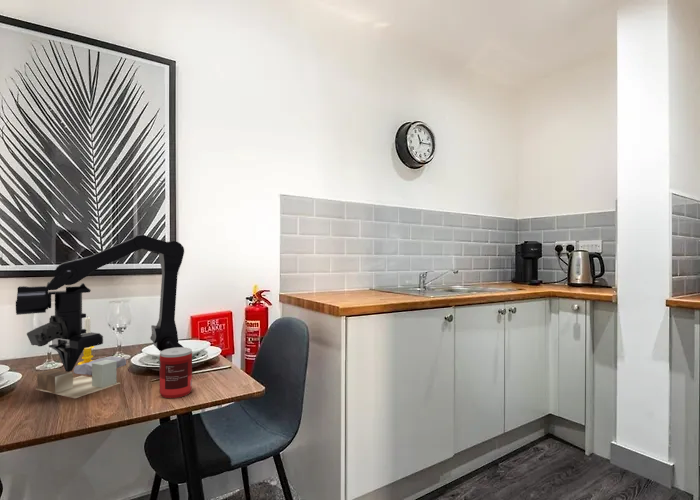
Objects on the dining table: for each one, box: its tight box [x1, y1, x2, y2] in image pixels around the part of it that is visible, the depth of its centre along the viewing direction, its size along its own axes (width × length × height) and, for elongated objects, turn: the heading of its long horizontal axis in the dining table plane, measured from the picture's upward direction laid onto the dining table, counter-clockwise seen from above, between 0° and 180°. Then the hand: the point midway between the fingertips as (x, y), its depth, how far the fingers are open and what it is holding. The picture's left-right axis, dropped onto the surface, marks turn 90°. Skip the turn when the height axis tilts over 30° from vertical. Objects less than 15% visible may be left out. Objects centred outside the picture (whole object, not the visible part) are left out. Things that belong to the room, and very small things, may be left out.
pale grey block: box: [91, 359, 117, 388], centre depth 105 cm, size 4×4×6 cm
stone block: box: [73, 355, 127, 376], centre depth 119 cm, size 12×5×10 cm
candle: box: [77, 315, 96, 365], centre depth 126 cm, size 5×5×16 cm
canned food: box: [159, 346, 193, 399], centre depth 101 cm, size 8×8×11 cm
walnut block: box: [36, 368, 74, 393], centre depth 102 cm, size 4×4×8 cm
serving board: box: [35, 375, 121, 399], centre depth 104 cm, size 16×12×1 cm
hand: (68, 371), depth 100 cm, fingers closed
